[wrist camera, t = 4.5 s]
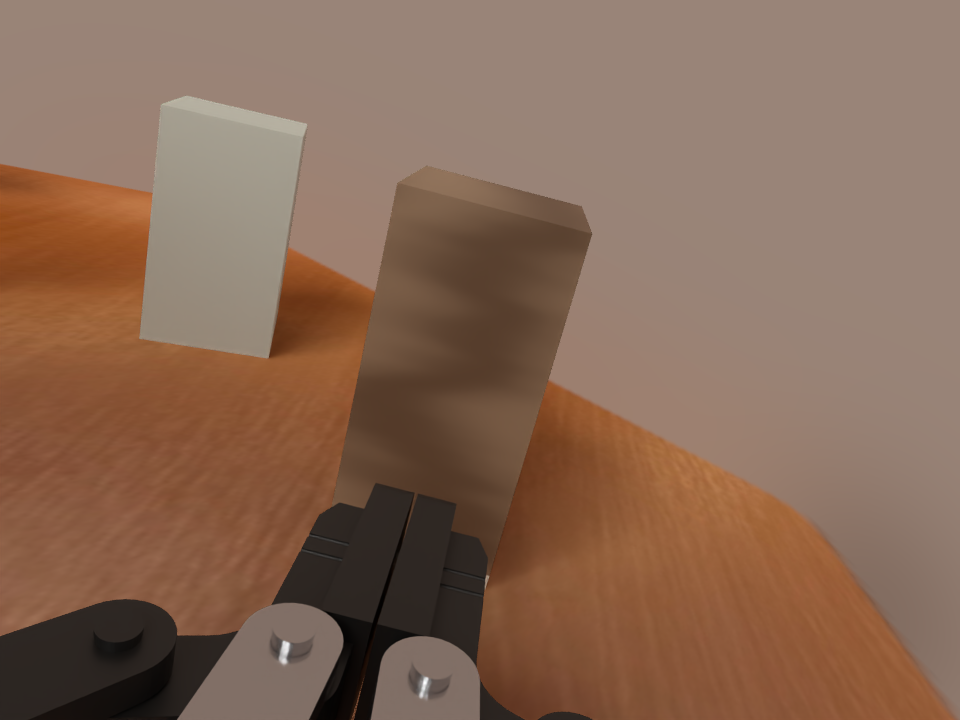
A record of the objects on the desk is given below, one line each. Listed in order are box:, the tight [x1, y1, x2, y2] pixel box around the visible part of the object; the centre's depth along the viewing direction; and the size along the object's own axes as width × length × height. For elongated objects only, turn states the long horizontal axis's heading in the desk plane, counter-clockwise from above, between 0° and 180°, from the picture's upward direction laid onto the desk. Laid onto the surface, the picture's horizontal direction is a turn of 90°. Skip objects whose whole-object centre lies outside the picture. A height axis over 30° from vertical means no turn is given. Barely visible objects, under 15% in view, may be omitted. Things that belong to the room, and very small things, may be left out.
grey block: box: [139, 96, 307, 358], centre depth 34 cm, size 6×6×10 cm
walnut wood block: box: [332, 166, 592, 589], centre depth 23 cm, size 5×5×11 cm
